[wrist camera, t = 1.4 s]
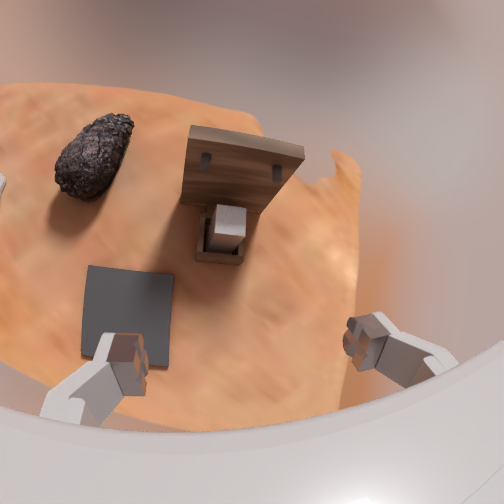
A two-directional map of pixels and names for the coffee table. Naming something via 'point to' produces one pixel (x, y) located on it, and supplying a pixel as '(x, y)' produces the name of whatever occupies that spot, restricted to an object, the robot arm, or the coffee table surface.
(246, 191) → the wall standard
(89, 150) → the dark porous rock
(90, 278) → the rubber mat
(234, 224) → the light gray square block
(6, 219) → the coffee table surface
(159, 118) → the coffee table surface
